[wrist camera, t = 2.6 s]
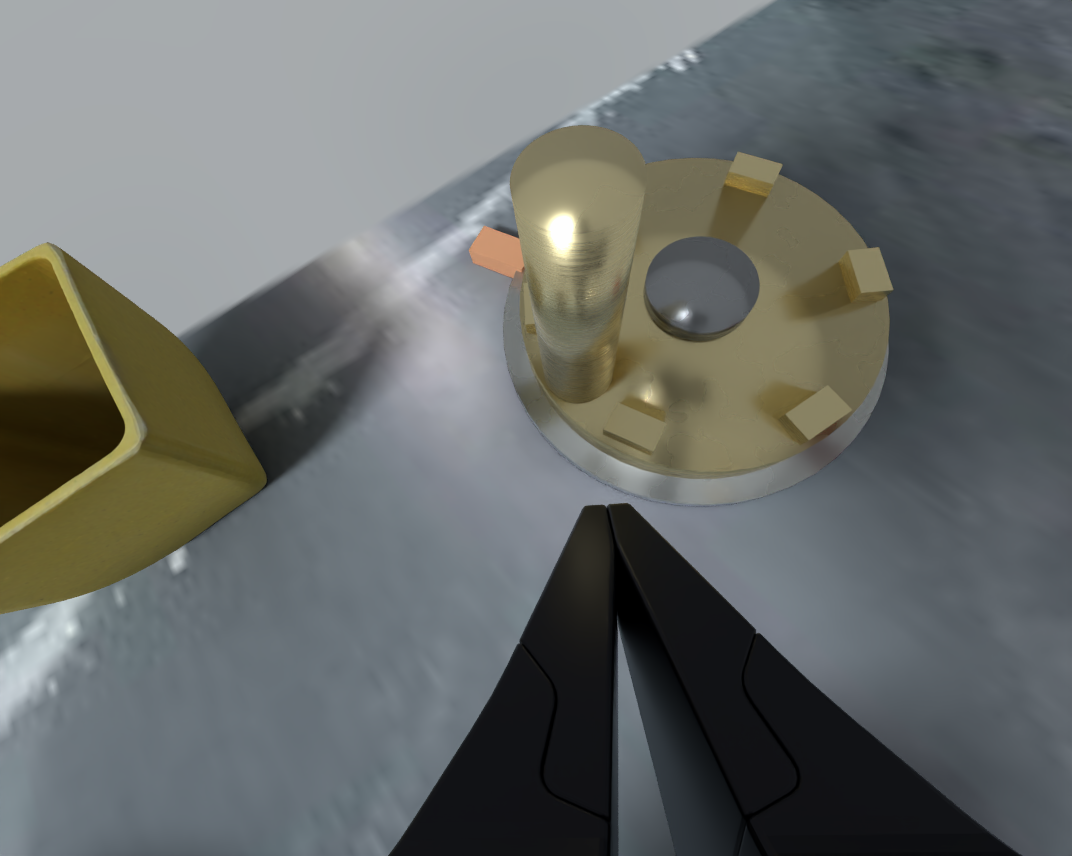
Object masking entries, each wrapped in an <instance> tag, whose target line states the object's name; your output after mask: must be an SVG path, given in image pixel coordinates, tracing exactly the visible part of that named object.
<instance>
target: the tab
mask: <svg viewBox="0 0 1072 856" xmlns="http://www.w3.org/2000/svg"><path fill="white" fill-rule="evenodd" d="M469 252H470V255H471V258H472V261H473V263H475V264H477V265H480V266H483V267H485V268H488V269H490V270H493V271H496V272H498V273H501V274H503V275H506V276H508V277H511V278H513V277H514V275H515V272H516V270H517V271H519V272H522V271H523V270H524V268H525V267H524V262H523V256H522V251H521V245H520V240H519V238H516V237H513V236H511V235H508V234H505V233H502V232H500V231H497V230H494V229H491V228H489V227H486V226H484V227H483V228H482V230H481V232H480V233H479V235H478V236H477V238H476V240H475V241H474V243H473V244H472V246H471V247H470V249H469Z"/></svg>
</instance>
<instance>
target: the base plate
mask: <svg viewBox="0 0 1072 856" xmlns="http://www.w3.org/2000/svg"><path fill="white" fill-rule="evenodd" d="M524 271H525V268H524V270H523V271H522V272H519V271H517V270H516V272H515V275H514V277H513V280H512V282H511V285H510V287H509V292H508V296H507V300H506V304H505V311H504V322H503V337H504V350H505V355H506V360H507V365H508V370H509V373H510V375H511V378H512V381H513V384H514V386H515V389H516V392H517V395H518V397H519V399H520V401H521V403H522V405H523V407H524V409H525V411H526V413H527V414H528V416H529V418H530V419H531V421H532V422H533V423H534V425H535V426H536V428H537V429H538V430H539V432H540V433H541V434H542V436H543V437H544V438H545V439H546V440H547V441H548V442H549V443H550V444H551V445H552V446H553V447H554V448H555V450H556V451H557V452H558V453H559V454H561V455H562V456H563V457H564V458H566V459H567V460H568V461H569V462H571V463H572V464H573V465H574V466H575V467H577V468H578V469H579V470H581V471H583V472H584V473H586V474H588V475H589V476H591V477H593V478H594V479H596V480H597V481H599V482H601V483H603V484H605V485H607V486H610V487H612V488H614V489H616V490H619V491H621V492H623V493H626V494H629V495H632V496H635V497H639V498H642V499H645V500H649V501H653V502H659V503H665V504H670V505H676V506H696V507H709V506H720V505H732V504H736V503H741V502H745V501H750V500H755V499H759V498H761V497H764V496H767V495H770V494H772V493H775V492H778V491H780V490H783V489H786V488H788V487H791V486H793V485H795V484H797V483H799V482H800V481H802V480H804V479H806V478H808V477H810V476H812V475H813V474H815V473H817V472H818V471H819V470H821V469H822V468H823V467H825V466H826V465H827V464H829V463H830V462H831V461H833V460H834V459H835V458H837V457H838V456H839V455H840V454H841V453H842V452H843V451H844V450H845V449H846V448H847V446H848V445H849V444H850V443H851V442H852V441H853V440H854V439H855V438H856V436H857V435H858V434H859V432H860V431H861V429H862V428H863V427H864V425H865V424H866V422H867V421H868V420H869V418H870V416H871V414H872V411H873V409H874V407H875V405H876V403H877V401H878V399H879V397H880V393H881V390H882V387H883V383H884V380H885V377H886V371H887V363H888V355H889V343H888V345H887V349H886V354H885V358H884V362H883V365H882V367H881V370H880V372H879V374H878V377H877V379H876V381H875V384H874V385H873V387H872V388H871V390H870V392H869V393H868V395H867V396H866V398H865V399H864V401H863V403H862V404H861V405H860V406H859V407H858V408H857V410H856V411H855V412H854V413H853V414H852V415H851V416H850V417H849V418H848V420H847V421H846V422H845V423H843V424H842V425H841V426H840V427H838V428H837V429H836V430H835V431H834V432H832V433H831V434H830V435H829V436H827V437H826V438H824V439H823V440H821V441H819V442H818V443H816V444H814V445H813V446H811V447H809V448H808V449H806V450H804V451H802V452H800V453H798V454H796V455H795V456H793V457H791V458H789V459H787V460H785V461H782V462H780V463H777V464H775V465H773V466H770V467H768V468H766V469H763V470H759V471H755V472H752V473H748V474H744V475H740V476H733V477H726V478H718V479H687V478H679V477H671V476H664V475H660V474H656V473H652V472H648V471H644V470H641V469H638V468H636V467H633V466H631V465H628V464H625V463H623V462H620V461H618V460H616V459H615V458H613V457H611V456H609V455H607V454H605V453H603V452H601V451H600V450H598V449H597V448H595V447H594V446H592V445H591V444H590V443H588V442H587V441H585V440H584V439H583V438H581V437H580V436H579V435H578V434H577V433H576V432H574V431H573V430H572V429H571V428H570V427H569V426H568V425H567V424H566V423H565V422H564V421H563V420H562V419H561V418H560V416H559V415H558V414H557V413H556V412H555V410H554V409H553V408H552V407H551V405H550V404H549V402H548V401H547V399H546V398H545V396H544V394H543V393H542V391H541V389H540V388H539V386H538V383H537V381H536V379H535V376H534V374H533V372H532V370H531V366H530V363H529V359H528V355H527V352H526V348H525V344H524V340H523V336H522V330H521V321H520V291H521V285H522V280H523V274H524ZM759 289H760V282H759V276H758V272H757V270H756V268H755V266H754V264H753V262H752V261H751V260H750V258H749V257H748V256H747V255H746V254H745V253H744V252H743V251H742V250H740V249H739V248H738V247H736V246H734V245H733V244H731V243H729V242H726V241H724V240H721V239H718V238H713V237H704V236H696V237H688V238H684V239H680V240H678V241H675V242H673V243H671V244H669V245H667V246H666V247H664V248H663V249H662V250H661V251H660V252H659V253H658V254H657V255H656V256H655V257H654V259H653V260H652V262H651V264H650V266H649V268H648V271H647V275H646V279H645V284H644V290H643V297H644V303H645V306H646V309H647V311H648V313H649V314H650V316H651V317H652V319H653V320H654V321H655V322H656V323H657V324H658V325H659V326H660V327H661V328H662V329H664V330H665V331H667V332H668V333H670V334H672V335H674V336H677V337H680V338H683V339H687V340H694V341H706V340H713V339H717V338H720V337H723V336H725V335H727V334H729V333H731V332H732V331H734V330H735V329H737V328H738V327H739V326H740V325H741V324H742V323H743V321H744V320H745V319H746V317H747V316H748V314H749V313H750V311H751V310H752V308H753V307H754V305H755V303H756V301H757V298H758V295H759Z"/></svg>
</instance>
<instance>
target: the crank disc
mask: <svg viewBox="0 0 1072 856" xmlns="http://www.w3.org/2000/svg"><path fill="white" fill-rule="evenodd" d="M782 165H783V164H780V163H777V162H773V161H770V160H766V159H762V158H759V157H755V156H752V155H748V154H745V153H741V152H738V153H737V155H736V157H735V159H734V161H728V160H720V159H709V158H684V159H670V160H664V161H658V162H652V163H648V164H645V161H644V159H643V157H642V155H641V153H640V152H639V150H638V149H637V148H636V146H635V145H634V144H633V143H632V142H631V141H629V140H628V139H627V138H625V137H624V136H622V135H621V134H619V133H617V132H614V131H612V130H609V129H606V128H602V127H597V126H589V125H578V126H569V127H564V128H560V129H556V130H554V131H551V132H549V133H546V134H544V135H542V136H541V137H539V138H537V139H536V140H534V141H533V142H532V143H531V144H529V145H528V146H527V147H526V148H525V149H524V150H523V151H522V153H521V154H520V155H519V157H518V158H517V160H516V162H515V164H514V166H513V169H512V172H511V177H510V189H511V196H512V201H513V207H514V212H515V218H516V223H517V229H518V234H519V240H520V245H521V251H522V256H523V262H524V267H525V271H524V274H523V280H522V285H521V291H520V321H521V330H522V336H523V340H524V344H525V348H526V352H527V355H528V359H529V363H530V366H531V370H532V372H533V374H534V376H535V379H536V381H537V383H538V386H539V388H540V389H541V391H542V393H543V394H544V396H545V398H546V399H547V401H548V402H549V404H550V405H551V407H552V408H553V409H554V410H555V412H556V413H557V414H558V415H559V416H560V418H561V419H562V420H563V421H564V422H565V423H566V424H567V425H568V426H569V427H570V428H571V429H572V430H573V431H574V432H576V433H577V434H578V435H579V436H580V437H581V438H583V439H584V440H585V441H587V442H588V443H590V444H591V445H592V446H594V447H595V448H597V449H598V450H600V451H601V452H603V453H605V454H607V455H609V456H611V457H613V458H615V459H616V460H618V461H620V462H623V463H625V464H628V465H631V466H633V467H636V468H638V469H641V470H644V471H648V472H652V473H656V474H660V475H664V476H671V477H679V478H687V479H718V478H726V477H733V476H740V475H744V474H748V473H752V472H755V471H759V470H763V469H766V468H768V467H770V466H773V465H775V464H777V463H780V462H782V461H785V460H787V459H789V458H791V457H793V456H795V455H796V454H798V453H800V452H802V451H804V450H806V449H808V448H809V447H811V446H813V445H814V444H816V443H818V442H819V441H821V440H823V439H824V438H826V437H827V436H829V435H830V434H831V433H832V432H834V431H835V430H836V429H837V428H838V427H840V426H841V425H842V424H843V423H845V422H846V421H847V420H848V418H849V417H850V416H851V415H852V414H853V413H854V412H855V411H856V410H857V408H858V407H859V406H860V405H861V404H862V403H863V401H864V399H865V398H866V396H867V395H868V393H869V392H870V390H871V388H872V387H873V385H874V384H875V381H876V379H877V377H878V374H879V372H880V370H881V367H882V365H883V362H884V358H885V354H886V349H887V345H888V339H889V325H890V317H889V306H888V298H887V295H888V294H890V293H891V292H892V291H893V287H892V284H891V281H890V278H889V275H888V272H887V269H886V266H885V263H884V260H883V258H882V255H881V252H880V249H879V247H876V248H868V247H867V246H866V244H865V242H864V241H863V239H862V238H861V237H860V235H859V234H858V233H857V232H856V230H855V229H854V228H853V227H852V225H851V224H850V223H849V222H848V221H847V220H846V219H845V218H844V217H843V216H842V215H841V214H840V213H839V212H838V211H837V210H836V209H835V208H834V207H832V206H831V205H830V204H828V203H827V202H826V201H824V200H823V199H822V198H821V197H819V196H818V195H817V194H815V193H813V192H812V191H810V190H808V189H807V188H805V187H803V186H802V185H800V184H798V183H797V182H794V181H792V180H790V179H788V178H786V177H784V176H781V175H779V172H780V170H781V167H782ZM696 236H704V237H713V238H718V239H721V240H724V241H726V242H729V243H731V244H733V245H734V246H736V247H738V248H739V249H740V250H742V251H743V252H744V253H745V254H746V255H747V256H748V257H749V258H750V260H751V261H752V262H753V264H754V266H755V268H756V270H757V272H758V276H759V282H760V289H759V295H758V298H757V301H756V303H755V305H754V307H753V308H752V310H751V311H750V313H749V314H748V316H747V317H746V319H745V320H744V321H743V323H742V324H741V325H740V326H739V327H738V328H737V329H735V330H734V331H732V332H731V333H729V334H727V335H725V336H723V337H720V338H717V339H713V340H706V341H694V340H687V339H683V338H680V337H677V336H674V335H672V334H670V333H668V332H667V331H665V330H664V329H662V328H661V327H660V326H659V325H658V324H657V323H656V322H655V321H654V320H653V319H652V317H651V316H650V314H649V313H648V311H647V309H646V306H645V303H644V297H643V290H644V284H645V279H646V275H647V271H648V268H649V266H650V264H651V262H652V260H653V259H654V257H655V256H656V255H657V254H658V253H659V252H660V251H661V250H662V249H663V248H664V247H666V246H667V245H669V244H671V243H673V242H675V241H678V240H680V239H684V238H688V237H696Z"/></svg>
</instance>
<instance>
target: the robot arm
mask: <svg viewBox="0 0 1072 856" xmlns="http://www.w3.org/2000/svg"><path fill="white" fill-rule="evenodd" d="M617 620H618V626H619V631H620V635H621V640H622V643H623V647H624V651H625V655H626V659H627V663H628V667H629V671H630V675H631V679H632V683H633V687H634V691H635V695H636V699H637V703H638V706H639V710H640V714H641V718H642V722H643V726H644V730H645V734H646V738H647V742H648V746H649V750H650V754H651V758H652V762H653V766H654V769H655V773H656V777H657V781H658V785H659V789H660V793H661V797H662V801H663V805H664V809H665V813H666V817H667V821H668V825H669V829H670V832H671V836H672V840H673V844H674V848H675V852H676V856H1022V855H1021V854H1019V853H1018V852H1016V851H1015V850H1013V849H1012V848H1011V847H1009V846H1008V845H1006V844H1005V843H1004V842H1002V841H1001V840H1000V839H998V838H997V837H995V836H994V835H993V834H991V833H990V832H989V831H987V830H986V829H985V828H984V827H982V826H981V825H980V824H979V823H977V822H976V821H975V820H974V819H972V818H971V817H970V816H969V815H967V814H966V813H965V812H964V811H962V810H961V809H960V808H959V807H958V806H956V805H955V804H954V803H953V802H952V801H951V800H949V799H948V798H947V797H946V796H945V795H943V794H942V793H941V792H940V791H939V790H937V789H936V788H935V787H934V786H933V785H931V784H930V783H929V782H928V781H927V780H925V779H924V778H923V777H922V776H921V775H919V774H918V773H917V772H916V771H915V770H913V769H912V768H911V767H910V766H909V765H907V764H906V763H905V762H904V761H903V760H901V759H900V758H899V757H898V756H897V755H895V754H894V753H893V752H892V751H891V750H889V749H888V748H887V747H886V746H885V745H884V744H882V743H881V742H880V741H879V740H878V739H876V738H875V737H874V736H873V735H872V734H870V733H869V732H868V731H867V730H866V729H864V728H863V727H862V726H861V725H860V724H858V723H857V722H856V721H855V720H854V719H852V718H851V717H850V716H849V715H848V714H847V713H846V712H844V711H843V710H842V709H841V708H840V707H839V706H837V705H836V704H835V703H834V702H833V701H832V700H831V699H829V698H828V697H827V696H826V695H825V694H824V693H822V692H821V691H820V690H819V689H818V688H817V687H816V686H814V685H813V684H812V683H811V682H810V681H809V680H808V679H807V678H806V677H805V676H804V675H803V674H802V673H800V672H799V671H798V670H797V669H796V668H795V667H794V666H793V665H792V664H791V663H790V662H789V661H788V660H787V659H786V658H785V657H784V656H783V655H781V654H780V653H779V652H778V651H777V650H776V649H775V648H774V647H773V646H772V645H771V644H770V643H769V642H768V641H767V640H766V639H765V638H764V637H763V636H762V635H761V634H760V633H757V634H756V629H755V628H754V627H753V626H752V625H751V624H750V623H749V622H748V621H747V620H746V619H745V618H744V617H743V616H742V615H741V614H740V613H739V612H738V611H737V610H736V609H735V608H734V607H733V606H732V605H731V604H730V603H729V602H728V601H727V600H726V599H725V598H724V597H723V596H722V595H721V594H720V593H719V592H718V591H717V590H716V589H715V588H714V587H713V586H712V585H711V584H710V583H709V582H708V581H707V580H706V579H705V578H704V577H703V576H702V575H701V574H700V573H699V572H698V571H697V570H696V569H695V568H694V567H693V566H692V565H691V564H690V563H689V562H688V561H687V560H685V559H684V558H683V557H682V556H681V555H680V554H679V553H678V552H677V551H676V550H675V549H674V548H673V547H672V546H671V545H670V544H669V543H668V542H667V541H666V540H665V539H664V538H663V537H662V536H661V535H660V534H659V533H658V532H657V531H656V530H655V529H654V528H653V527H652V526H651V525H650V524H649V523H648V522H647V521H646V520H645V519H644V518H643V517H642V516H641V515H640V514H639V513H638V512H637V511H636V510H635V509H634V508H633V507H632V506H631V505H630V504H628V503H620V504H609V505H608V506H607V508H606V506H604V505H589V506H585V507H583V509H582V511H581V513H580V515H579V517H578V519H577V521H576V523H575V526H574V528H573V530H572V532H571V534H570V536H569V538H568V540H567V542H566V544H565V546H564V548H563V551H562V553H561V555H560V557H559V559H558V561H557V563H556V565H555V567H554V569H553V571H552V573H551V576H550V578H549V580H548V582H547V584H546V586H545V588H544V590H543V592H542V594H541V596H540V599H539V601H538V603H537V605H536V607H535V609H534V611H533V613H532V615H531V617H530V619H529V621H528V624H527V626H526V628H525V630H524V632H523V634H522V636H521V638H520V644H517V646H516V648H515V650H514V652H513V654H512V656H511V658H510V661H509V663H508V665H507V667H506V669H505V670H504V672H503V674H502V676H501V678H500V680H499V682H498V684H497V686H496V688H495V690H494V691H493V693H492V695H491V697H490V699H489V700H488V702H487V704H486V705H485V707H484V709H483V710H482V712H481V714H480V715H479V717H478V719H477V720H476V722H475V724H474V725H473V727H472V729H471V730H470V732H469V733H468V735H467V736H466V738H465V740H464V741H463V743H462V744H461V746H460V747H459V749H458V751H457V752H456V754H455V755H454V757H453V758H452V760H451V761H450V763H449V765H448V766H447V768H446V769H445V771H444V772H443V774H442V776H441V777H440V779H439V780H438V782H437V783H436V785H435V786H434V788H433V790H432V791H431V793H430V794H429V796H428V797H427V799H426V801H425V802H424V804H423V805H422V807H421V808H420V810H419V811H418V813H417V815H416V816H415V818H414V819H413V821H412V822H411V824H410V825H409V827H408V828H407V830H406V831H405V833H404V834H403V836H402V837H401V839H400V840H399V842H398V843H397V845H396V846H395V847H394V849H393V850H392V851H391V853H390V854H389V855H388V856H618V627H617Z"/></svg>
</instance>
